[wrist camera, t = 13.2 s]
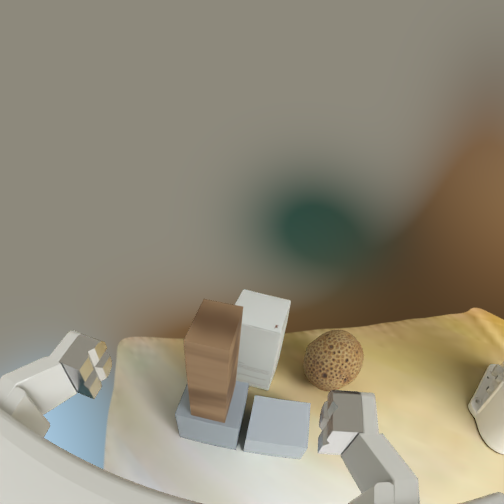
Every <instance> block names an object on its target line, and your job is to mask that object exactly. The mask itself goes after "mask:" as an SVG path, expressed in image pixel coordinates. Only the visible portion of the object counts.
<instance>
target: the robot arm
mask: <svg viewBox="0 0 504 504" xmlns="http://www.w3.org/2000/svg"><path fill="white" fill-rule="evenodd" d="M106 349H107V346H106V344H105V342H103V341H100V340H97V339H95V338H92V337H89V336H87V335H84V334H82V333H79V332H76V331H74V330H72V331H69V332H68V333H67V335H66V336H65V337H64V338H63V339H62V341H61V342H60V343H59V345H58V346H57V347H56V348H55V350H54V351H53V352H52V354H51V355H50V356H49V357H47V356H46V357H43V358H41V359H39V360H36V361H34V362H32V363H30V364H28V365H26V366H23V367H21V368H19V369H16V370H14V371H12V372H10V373H8V374H5V375H3V376H2V377H1V379H0V504H202V503H198V502H194V501H190V500H187V499H183V498H180V497H176V496H173V495H169V494H166V493H163V492H160V491H157V490H154V489H151V488H148V487H145V486H143V485H140V484H137V483H135V482H132V481H130V480H127V479H124V478H122V477H120V476H117V475H115V474H113V473H110V472H108V471H106V470H103V469H101V468H99V467H97V466H95V465H93V464H91V463H89V462H86V461H85V460H82V459H80V458H79V457H77V456H75V455H73V454H71V453H69V452H67V451H65V450H64V449H62V448H60V447H58V446H57V445H55V444H53V443H51V442H50V441H48V440H46V439H45V438H44V436H45V434H46V433H47V431H48V429H49V427H50V423H49V422H48V421H47V419H46V418H45V417H44V416H43V414H46V413H47V412H49V411H50V410H52V409H53V408H55V407H57V406H58V405H60V404H61V403H63V402H64V401H66V400H67V399H69V398H70V397H72V396H73V395H75V394H77V392H78V393H80V394H83V395H85V396H88V397H90V398H93V399H95V397H96V395H97V394H98V392H99V390H100V389H101V387H102V385H101V381H102V380H104V379H106V378H107V377H108V375H109V373H110V371H111V367H112V361H111V358H110V355H109V354H108V353H107V352H106ZM468 408H469V410H470V412H471V414H472V415H473V416H474V418H475V420H476V423H477V426H478V429H479V432H480V434H481V436H482V438H483V440H484V441H485V442H486V444H487V445H488V446H489V447H490V448H492V449H493V450H494V451H496V452H498V453H501V454H504V362H503V363H502V364H501V365H499V364H490V365H489V366H488V367H487V369H486V371H485V373H484V375H483V377H482V379H481V381H480V383H479V385H478V387H477V389H476V391H475V393H474V395H473V397H472V399H471V401H470V402H469V404H468ZM319 427H320V428H321V430H322V432H321V434H320V436H319V439H318V453H321V454H333V455H341V458H342V459H343V461H344V463H345V465H346V467H347V468H348V470H349V472H350V474H351V475H352V477H353V479H354V481H355V482H356V484H357V486H358V488H359V489H360V491H361V493H362V494H361V495H359V496H358V497H356V498H355V499H353V500H352V501H350V502H349V503H348V504H420V500H419V484H418V478H417V477H416V475H415V474H414V473H413V472H412V470H411V469H410V468H409V466H408V465H407V464H406V463H405V461H404V460H403V459H402V458H401V456H400V455H399V454H398V452H397V451H396V450H395V449H394V447H393V446H392V445H391V444H390V442H389V441H388V440H387V438H386V437H385V436H384V435H383V434H380V433H379V429H378V418H377V408H376V399H375V395H374V393H365V392H355V391H340V390H331V391H330V392H329V394H328V401H326V402H324V404H323V407H322V410H321V414H320V421H319ZM459 504H504V494H503V493H500V492H497V493H493V494H489V495H486V496H483V497H480V498H477V499H473V500H470V501H466V502H463V503H459Z"/></svg>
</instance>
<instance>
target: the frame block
mask: <svg viewBox="0 0 504 504" xmlns="http://www.w3.org/2000/svg"><path fill="white" fill-rule="evenodd" d="M242 315H243V306H238V305H232V304H227V303H222V302H217V301H212V300H206V299H204V300H203V302H202V304H201V306H200V308H199V310H198V312H197V314H196V316H195V318H194V320H193V322H192V324H191V326H190V328H189V330H188V333H187V334H186V337H185V338H184V351H185V363H186V373H187V383H188V392H189V401H190V409H191V415H193V416H197V417H201V418H205V419H209V420H213V421H218V422H222V423H225V421H226V417H227V414H228V410H229V407H230V403H231V399H232V396H233V392H234V388H235V385H236V375H237V365H238V355H239V345H240V335H241V325H242Z"/></svg>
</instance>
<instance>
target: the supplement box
mask: <svg viewBox="0 0 504 504" xmlns="http://www.w3.org/2000/svg"><path fill="white" fill-rule="evenodd" d="M290 304H291V301H290V300H286V299H282V298H278V297H274V296H270V295H266V294H261V293H257V292H254V291H250V290H246V289H243V291H242V293H241V295H240V296H239V298H238V300H237V301H236V303H235V305H238V306H243V315H242V325H241V335H240V345H239V355H238V365H237V375H236V381H240V382H245V383H249V386H253V387H256V388H260V389H264V390H267V391H268V390H269V387H270V384H271V382H272V379H273V376H274V373H275V370H276V367H277V364H278V361H279V357H280V352H281V348H282V343H283V338H284V334H285V329H286V324H287V320H288V315H289V309H290Z"/></svg>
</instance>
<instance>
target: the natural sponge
mask: <svg viewBox="0 0 504 504" xmlns="http://www.w3.org/2000/svg"><path fill="white" fill-rule="evenodd" d="M362 364H363V350H362V347H361V345H360V343H359V342H358V341H357V339H356V338H355V337H354V336H353V335H352V334H350V333H348V332H346V331H343V330H332V331H329V332H326V333H324V334H322V335H321V336H319V337H318V338H317V339H316V340H314V341H313V342H312V343H310V344H309V345H308V347H307V349H306V354H305V358H304V373H305V375H306V377H307V379H308V380H309V382H311V383H312V384H313V385H314V386H316V387H317V388H319V389H321V390H324V391H331V390H336V389H339V388H341V387H343V386H345V385H347V384H349V383H351V382H352V381H353V380H354V379H355V378H356V377H357V375H358V373H359V372H360V369H361V367H362Z"/></svg>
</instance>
